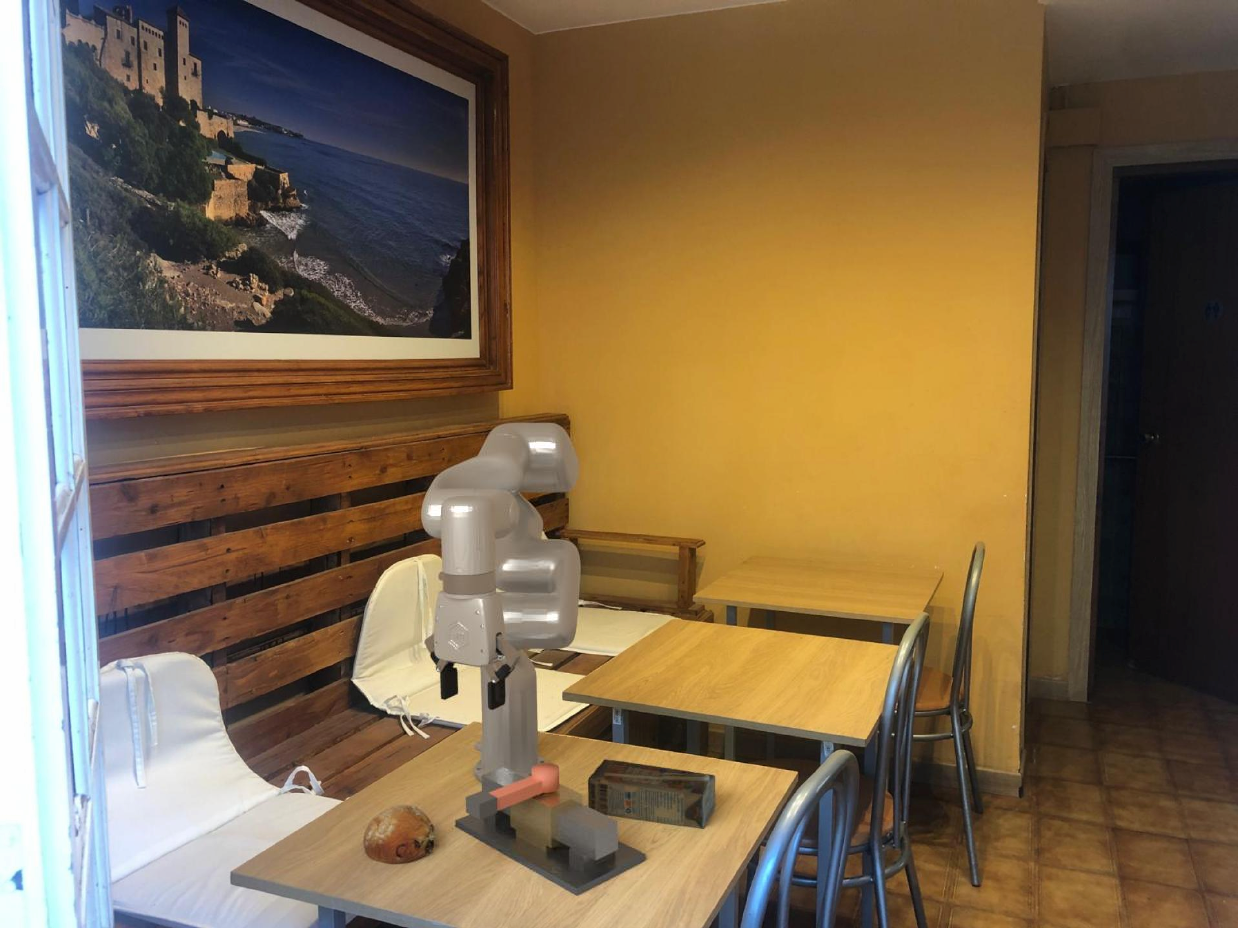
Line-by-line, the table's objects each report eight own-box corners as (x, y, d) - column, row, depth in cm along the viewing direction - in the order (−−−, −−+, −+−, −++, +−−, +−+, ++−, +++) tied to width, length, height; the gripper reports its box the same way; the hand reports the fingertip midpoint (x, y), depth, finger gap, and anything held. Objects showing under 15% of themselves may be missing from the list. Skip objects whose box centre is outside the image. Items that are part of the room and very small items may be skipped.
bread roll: (415, 852, 151) (399, 800, 152) (455, 843, 145) (438, 789, 146) (361, 879, 143) (345, 824, 145) (400, 870, 137) (383, 813, 138)
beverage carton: (704, 832, 149) (704, 790, 148) (585, 815, 155) (584, 774, 154) (716, 809, 156) (716, 769, 156) (602, 794, 163) (602, 755, 162)
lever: (547, 778, 148) (546, 760, 147) (564, 786, 145) (564, 768, 145) (464, 811, 137) (463, 791, 137) (481, 820, 134) (480, 800, 134)
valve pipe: (455, 826, 151) (453, 772, 150) (522, 799, 160) (521, 749, 159) (576, 895, 131) (575, 834, 130) (645, 860, 140) (644, 803, 139)
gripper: (405, 581, 142) (409, 699, 144) (502, 595, 133) (505, 720, 135) (440, 571, 148) (443, 685, 150) (534, 583, 140) (537, 704, 141)
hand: (472, 701), depth 143 cm, fingers open, 8 cm apart
